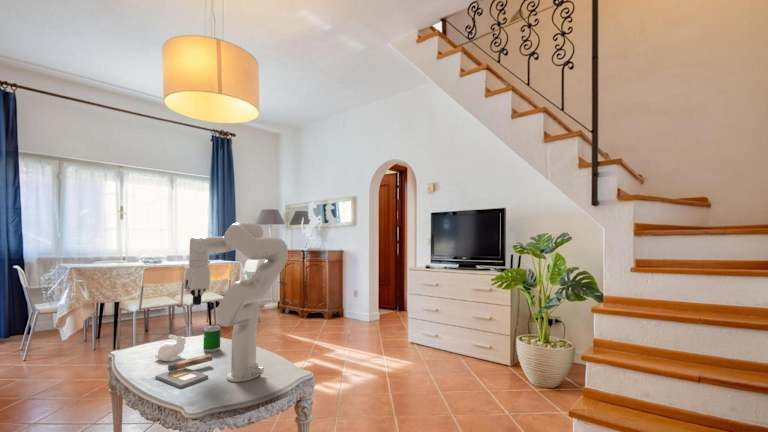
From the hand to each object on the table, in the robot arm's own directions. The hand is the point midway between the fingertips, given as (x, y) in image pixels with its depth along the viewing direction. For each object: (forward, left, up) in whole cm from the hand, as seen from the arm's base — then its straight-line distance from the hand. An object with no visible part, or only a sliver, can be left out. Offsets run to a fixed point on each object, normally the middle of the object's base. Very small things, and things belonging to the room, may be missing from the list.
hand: (196, 304), depth 160 cm
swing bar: (-3, +7, -24) cm, 25 cm away
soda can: (+5, -18, -27) cm, 33 cm away
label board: (-6, +15, -27) cm, 31 cm away
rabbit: (+15, -4, -27) cm, 31 cm away
